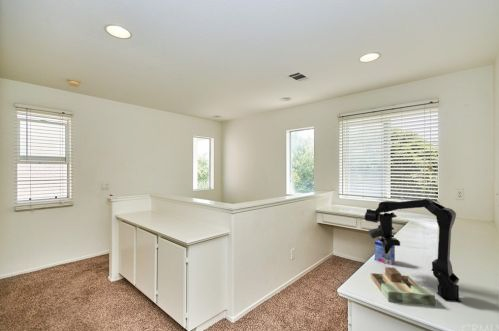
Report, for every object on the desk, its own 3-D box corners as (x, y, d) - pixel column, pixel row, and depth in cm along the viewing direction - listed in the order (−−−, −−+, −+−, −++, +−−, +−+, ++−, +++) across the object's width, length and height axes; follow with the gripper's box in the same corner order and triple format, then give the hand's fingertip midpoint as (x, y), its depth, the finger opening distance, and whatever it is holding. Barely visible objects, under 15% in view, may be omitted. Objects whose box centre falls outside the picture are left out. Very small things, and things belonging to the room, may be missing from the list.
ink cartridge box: (374, 260, 146) (374, 237, 146) (377, 258, 149) (377, 235, 149) (391, 265, 138) (391, 241, 138) (395, 263, 142) (395, 239, 142)
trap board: (408, 280, 120) (408, 271, 120) (434, 305, 98) (434, 295, 98) (370, 277, 123) (370, 269, 123) (388, 301, 101) (388, 291, 101)
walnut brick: (394, 275, 120) (394, 267, 120) (401, 282, 113) (401, 274, 113) (385, 275, 121) (385, 267, 121) (391, 281, 114) (391, 273, 114)
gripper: (364, 219, 136) (364, 246, 136) (376, 228, 117) (376, 259, 117) (385, 220, 134) (384, 247, 134) (400, 229, 116) (400, 260, 115)
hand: (386, 253), depth 125 cm, fingers closed
